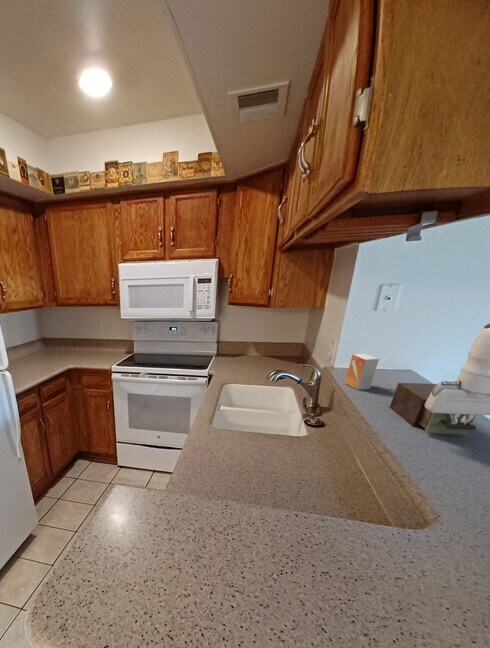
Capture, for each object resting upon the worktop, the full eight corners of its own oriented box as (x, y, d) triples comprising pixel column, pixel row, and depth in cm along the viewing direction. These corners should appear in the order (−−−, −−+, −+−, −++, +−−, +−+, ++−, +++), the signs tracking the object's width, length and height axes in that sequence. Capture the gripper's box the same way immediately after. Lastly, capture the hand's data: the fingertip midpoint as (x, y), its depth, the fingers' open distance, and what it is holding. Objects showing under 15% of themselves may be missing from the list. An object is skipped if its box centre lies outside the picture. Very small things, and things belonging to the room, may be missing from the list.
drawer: (477, 442, 96) (489, 418, 93) (435, 440, 97) (446, 416, 94) (437, 414, 113) (446, 393, 109) (402, 413, 114) (410, 392, 110)
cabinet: (454, 428, 106) (467, 400, 101) (412, 426, 107) (423, 399, 103) (426, 408, 120) (436, 383, 115) (389, 407, 121) (398, 382, 116)
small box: (344, 383, 143) (352, 354, 137) (357, 382, 144) (365, 353, 138) (356, 390, 136) (365, 359, 130) (370, 389, 137) (379, 358, 131)
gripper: (443, 384, 89) (424, 429, 95) (527, 387, 87) (501, 433, 93) (430, 377, 94) (413, 420, 101) (508, 379, 92) (485, 423, 99)
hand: (456, 426), depth 97 cm, fingers closed, pressing on drawer
